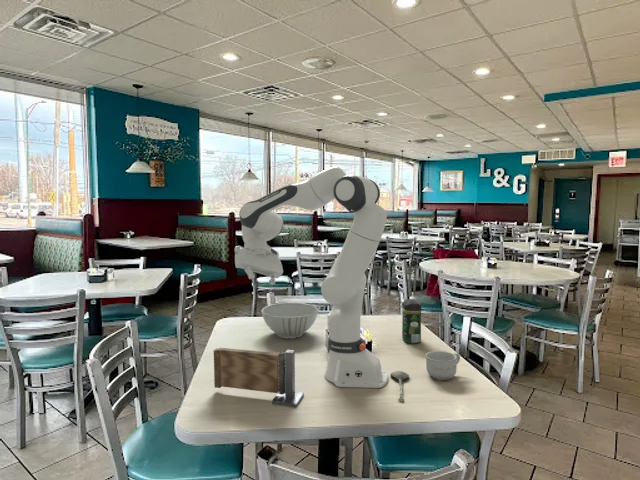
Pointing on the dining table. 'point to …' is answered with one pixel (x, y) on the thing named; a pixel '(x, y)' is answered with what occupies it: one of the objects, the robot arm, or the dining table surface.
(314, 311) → the decorative bowl
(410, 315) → the coffee jar
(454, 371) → the teacup
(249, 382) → the gate
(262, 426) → the dining table surface
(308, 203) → the robot arm
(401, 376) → the soupspoon
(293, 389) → the gate post
